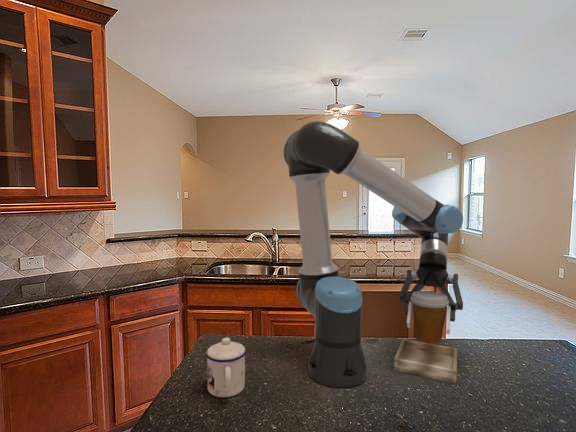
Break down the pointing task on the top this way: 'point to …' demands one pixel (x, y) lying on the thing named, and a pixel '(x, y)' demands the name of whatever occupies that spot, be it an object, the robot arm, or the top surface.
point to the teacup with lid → (226, 368)
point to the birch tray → (427, 360)
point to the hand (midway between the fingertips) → (427, 328)
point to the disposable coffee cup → (429, 315)
